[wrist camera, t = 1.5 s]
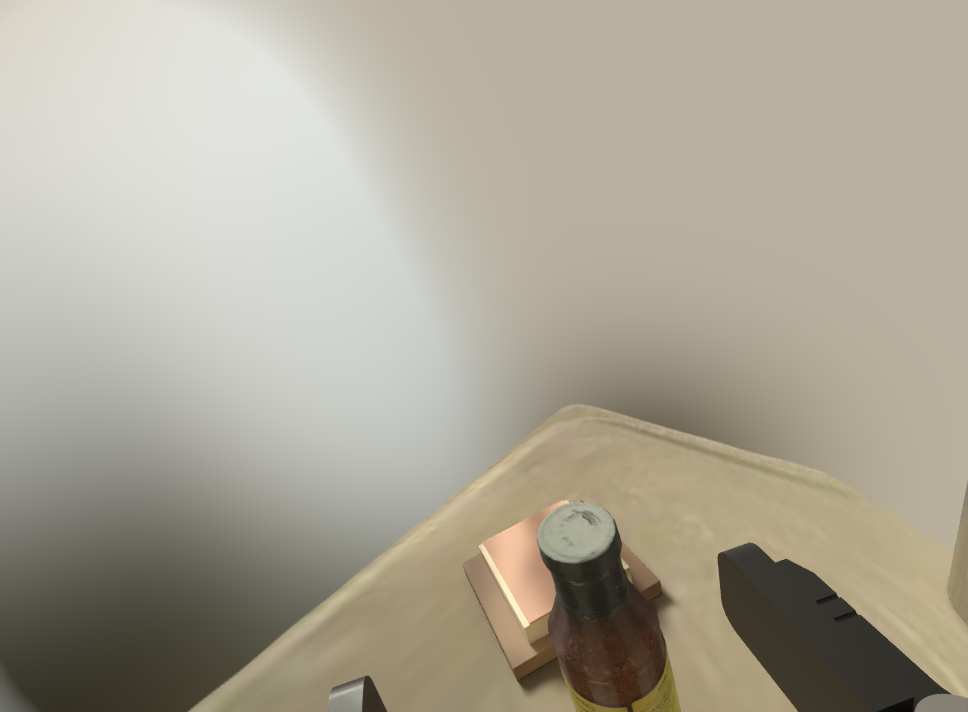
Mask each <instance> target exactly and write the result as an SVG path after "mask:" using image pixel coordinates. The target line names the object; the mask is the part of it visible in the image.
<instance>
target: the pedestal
mask: <svg viewBox="0 0 968 712" xmlns="http://www.w3.org/2000/svg"><path fill="white" fill-rule="evenodd" d="M580 502H582V503H584V502H583V501H580ZM567 503H570V502H569V501H568V500H566V501H563V500H562V501H560V502H559V503H557V504H555V505H553V506H551V507H549V508H547V509H545V510H543V511H541V512H539V513H537V514H535V515H534V516H532V517H530V518H528V519H526V520H524V521H522V522H520V523H518V524H516V525H514V526H512V527H510V528H508V529H507V530H505V531H503V532H501V533H499V534H497V535H495V536H493V537H491V538H489V539H487V540H485V541H483V544H481V545H479V549H480V552H481V554H479V555H477V556H475V557H473V558H471V559H469V560H468V561H466V562H464V563H462V565H463V568H464V571H465V573H466V575H467V578H468V580H469V582H470V584H471V586H472V588H473V590H474V592H475V594H476V596H477V598H478V600H479V602H480V604H481V607H482V609H483V611H484V613H485V615H486V617H487V619H488V621H489V623H490V625H491V627H492V629H493V631H494V633H495V636H496V638H497V640H498V642H499V644H500V646H501V648H502V650H503V652H504V654H505V656H506V658H507V660H508V663H509V665H510V667H511V669H512V671H513V673H514V675H515V677H516V679H517V681H518V680H520V679H521V678H523V677H525V676H526V675H528V674H529V673H531V672H533V671H534V670H536V669H538V668H539V667H541V666H543V665H544V664H546V663H547V662H549V661H551V660H552V659H554V658H556V657H557V654H556V651H555V649H554V645H553V642H552V640H551V637H550V634H549V632H548V619H549V615H550V612H551V610H552V607H553V604H554V600H555V596H556V591H555V583H554V582H553V578H552V575H551V572H550V571H549V570H548V568H546V566H545V564H544V562H543V560H542V557H541V554H540V550H539V547H538V543H537V531H538V528H539V526H540V524H541V522H542V521H543V520H544V518H545V517H546V516H547V515H548V514H549V513H550V512H552V511H553V510H554V509H556V508H557V507H559V506H561V505H564V504H567ZM621 542H622V541H621ZM620 555H621V561H622V565H623V568H624V570H625V571H626V574H627V578H628V580H629V581H630V582H631V583H632V584H633V585H634V586H635V587H636V588H637V589H638V590H639V591H640V592H641V593H642V594H643V596H644V597H645V598H646V599H647V600H648V601H649V600H651V599H652V598H654V597H656V596H657V595H659V594H660V593H662V591H661V584H660V580H659V579H658V578H657V577H656V576H655V575H654V574H653V573H652V572H651V571H650V570H649V569H648V568H647V567H646V566H645V565H644V564H643V563H642V562H641V561H640V560H639V559H638V557H637V556H636V555H635V554H634V553H633V552H632V551H631V550H630V549H629V548H628V547H627V546H626V545H625V544H624V543H623V542H622V550H621V553H620Z"/></svg>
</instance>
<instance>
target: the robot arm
mask: <svg viewBox="0 0 968 712" xmlns="http://www.w3.org/2000/svg"><path fill="white" fill-rule="evenodd" d="M718 569H719V579H720V590H721V600H722V605H723V608H724V611H725V614H726V616H727V618H728V620H729V622H730V624H731V625H732V627H733V628H734V630H735V631H736V633H737V634H738V635H739V637H740V638H741V639H742V640H743V642H744V643H745V644H746V645H747V647H748V648H749V649H750V651H751V652H752V653H753V654H754V656H755V657H756V658H757V660H758V661H759V662H760V663H761V665H762V666H763V667H764V668H765V670H766V671H767V672H768V674H769V675H770V676H771V677H772V679H773V680H774V681H775V682H776V684H777V685H778V686H779V688H780V689H781V690H782V691H783V693H784V694H785V695H786V696H787V698H788V699H789V700H790V702H791V703H792V704H793V705H794V707H795V708H796V709H797V711H798V712H968V698H964V697H961V696H957V695H952V694H951V693H949V692H948V691H946V690H945V689H943V688H942V687H941V686H939V685H938V684H937V683H936V682H935V681H933V680H932V679H931V678H930V677H929V676H928V675H927V674H926V673H925V672H923V671H922V670H921V669H920V668H919V667H918V666H917V665H916V664H915V663H913V662H912V661H911V660H910V659H909V658H908V657H907V656H906V655H905V654H903V653H902V652H901V651H900V650H899V649H898V648H897V647H896V646H895V645H893V644H892V643H891V642H890V641H889V640H888V639H887V638H886V637H885V636H883V635H882V634H881V633H880V632H879V631H878V630H877V629H876V628H875V627H873V626H872V625H871V624H870V623H869V622H868V621H867V620H866V619H865V618H863V617H862V616H861V615H858V614H857V613H856V611H855V609H853V608H852V607H851V606H850V605H849V604H848V603H847V602H846V601H845V600H843V599H842V598H841V597H840V598H839V597H838V596H837V594H836V592H835V591H833V590H832V589H831V588H830V587H829V586H828V585H827V584H826V583H825V582H823V581H822V580H821V579H820V578H819V577H818V576H817V575H816V574H815V573H813V572H811V571H809V570H807V569H805V568H803V567H801V566H799V565H797V564H795V563H794V562H792V561H790V560H788V559H784V560H781V561H778V562H776V563H775V562H774V561H773V560H772V559H771V558H770V557H769V556H768V555H767V554H766V553H765V552H764V551H763V550H762V549H761V548H759V547H758V546H757V545H755V544H754V543H747V544H744V545H741V546H738V547H735V548H732V549H730V550H727V551H724V552H721V553H719V554H718ZM948 592H949V597H950V600H951V602H952V604H953V606H954V608H955V610H956V611H957V613H958V614H959V615H960V616H961V618H962V619H963V620H964V621H965V623H966V624H967V625H968V482H967V487H966V492H965V497H964V503H963V508H962V513H961V519H960V524H959V529H958V535H957V540H956V544H955V549H954V554H953V560H952V565H951V571H950V577H949V583H948ZM327 712H387V710H386V708H385V706H384V704H383V702H382V700H381V698H380V696H379V694H378V692H377V689H376V687H375V685H374V683H373V681H372V679H371V678H370V676H364V677H362V678H359V679H356V680H353V681H350V682H347V683H344V684H342V685H339V686H336V687H334V688H332V690H331V692H330V696H329V703H328V711H327Z"/></svg>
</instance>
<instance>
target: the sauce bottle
mask: <svg viewBox="0 0 968 712" xmlns="http://www.w3.org/2000/svg"><path fill="white" fill-rule="evenodd" d="M537 543H538V547H539V550H540V554H541V557H542V560H543V562H544V564H545V566H546V568H548V570H549V571H550V572H551V575H552V578H553V582H554V583H555V591H556V596H555V600H554V604H553V607H552V610H551V612H550V615H549V619H548V632H549V634H550V637H551V640H552V642H553V645H554V649H555V651H556V654H557V657H558V662H559V666H560V669H561V672H562V675H563V677H564V680H565V683H566V685H567V688H568V691H569V693H570V696H571V699H572V701H573V704H574V707H575V709H576V712H681V710H680V705H679V700H678V695H677V691H676V686H675V681H674V677H673V672H672V668H671V664H670V660H669V655H668V651H667V647H666V642H665V639H664V636H663V633H662V631H661V629H660V625H659V620H658V616H657V612H656V607H655V605H654V604H652V603H651V602H650V601H648V600H647V599H646V598H645V597H644V596H643V594H642V593H641V592H640V591H639V590H638V589H637V588H636V587H635V586H634V585H633V584H632V583H631V582H630V581H629V580H628V578H627V574H626V571H625V570H624V568H623V565H622V561H621V555H620V553H621V550H622V542H621V538H620V535H619V532H618V529H617V526H616V523H615V520H614V519H613V518H612V516H611V515H610V513H609V512H608V511H607V510H605V509H603V508H601V507H599V506H597V505H593V504H589V503H582V502H576V503H567V504H564V505H561V506H559V507H557V508H556V509H554V510H553V511H552V512H550V513H549V514H548V515H547V516H546V517H545V518H544V520H543V521H542V522H541V524H540V526H539V528H538V531H537Z"/></svg>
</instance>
